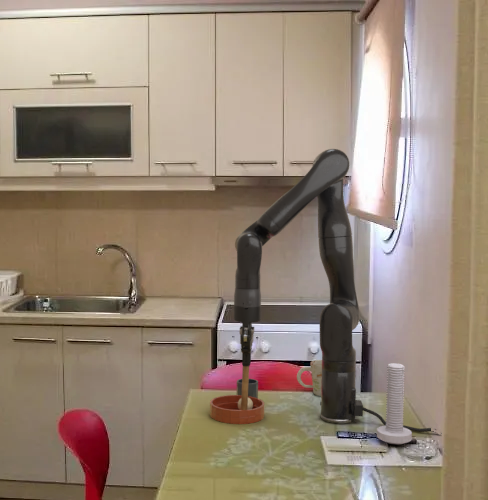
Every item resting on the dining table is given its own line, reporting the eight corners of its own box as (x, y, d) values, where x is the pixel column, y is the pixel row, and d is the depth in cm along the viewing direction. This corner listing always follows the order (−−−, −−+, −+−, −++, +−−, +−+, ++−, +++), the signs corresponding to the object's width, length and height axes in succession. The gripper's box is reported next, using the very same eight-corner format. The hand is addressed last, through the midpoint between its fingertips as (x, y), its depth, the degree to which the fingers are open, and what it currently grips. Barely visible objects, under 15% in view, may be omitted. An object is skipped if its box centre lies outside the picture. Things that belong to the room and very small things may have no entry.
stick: (246, 410, 196) (249, 347, 195) (247, 412, 194) (250, 349, 193) (240, 410, 196) (243, 347, 195) (241, 412, 194) (244, 349, 193)
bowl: (265, 410, 202) (265, 396, 201) (262, 427, 187) (263, 412, 186) (213, 407, 204) (213, 393, 204) (207, 424, 189) (207, 409, 189)
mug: (336, 398, 214) (337, 366, 214) (295, 396, 217) (296, 364, 216) (336, 391, 222) (337, 360, 222) (297, 389, 225) (297, 358, 224)
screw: (400, 435, 181) (402, 360, 179) (418, 447, 172) (420, 368, 171) (370, 438, 179) (372, 361, 177) (387, 449, 170) (389, 369, 169)
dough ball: (244, 411, 201) (245, 396, 201) (255, 413, 198) (256, 397, 198) (234, 411, 198) (235, 396, 198) (245, 413, 195) (246, 397, 195)
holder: (258, 401, 211) (258, 378, 210) (257, 407, 204) (257, 384, 204) (237, 400, 212) (237, 378, 211) (235, 406, 205) (235, 383, 205)
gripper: (236, 300, 200) (235, 359, 202) (231, 307, 187) (230, 370, 188) (262, 300, 199) (261, 360, 200) (259, 307, 186) (258, 371, 187)
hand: (246, 364), depth 194 cm, fingers closed on stick, 2 cm apart
